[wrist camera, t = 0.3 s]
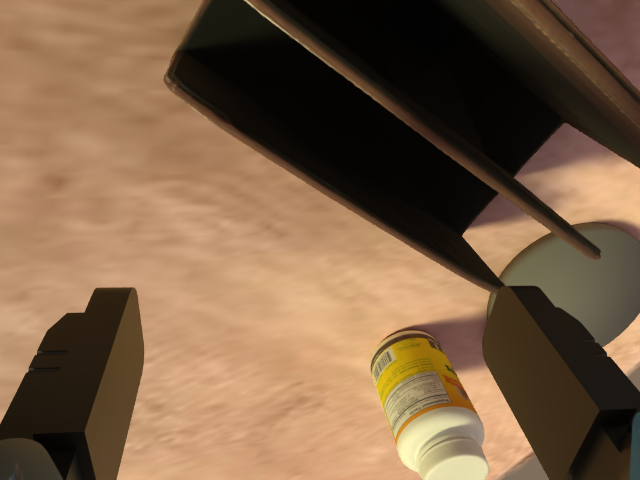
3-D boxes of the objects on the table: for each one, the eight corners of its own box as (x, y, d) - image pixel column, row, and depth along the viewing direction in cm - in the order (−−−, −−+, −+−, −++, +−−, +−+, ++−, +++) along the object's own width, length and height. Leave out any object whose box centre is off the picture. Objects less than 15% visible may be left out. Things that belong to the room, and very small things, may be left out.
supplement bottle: (441, 371, 40) (502, 492, 31) (372, 389, 39) (414, 516, 31) (437, 317, 37) (503, 435, 28) (362, 336, 36) (406, 461, 28)
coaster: (501, 231, 34) (510, 241, 33) (664, 215, 35) (677, 223, 34) (476, 364, 40) (482, 375, 39) (615, 344, 41) (625, 355, 40)
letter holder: (286, -150, 22) (364, -253, 10) (562, 107, 30) (787, 221, 18) (171, 52, 25) (125, 158, 13) (448, 233, 33) (575, 399, 21)
